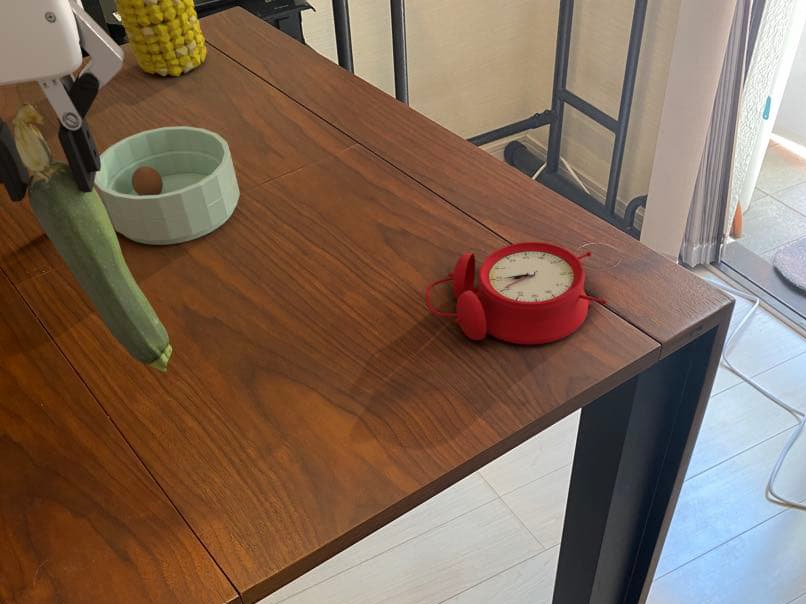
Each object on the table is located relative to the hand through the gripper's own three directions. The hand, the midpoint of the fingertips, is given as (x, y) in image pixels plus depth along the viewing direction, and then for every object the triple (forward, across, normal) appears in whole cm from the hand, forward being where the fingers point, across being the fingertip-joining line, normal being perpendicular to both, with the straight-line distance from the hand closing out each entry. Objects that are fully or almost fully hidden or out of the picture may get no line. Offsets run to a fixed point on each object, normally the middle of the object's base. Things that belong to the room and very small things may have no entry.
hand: (54, 183), depth 55 cm
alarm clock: (+21, -32, -7) cm, 39 cm away
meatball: (+18, +2, -34) cm, 38 cm away
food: (+21, +1, -68) cm, 71 cm away
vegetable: (+15, -3, +1) cm, 15 cm away
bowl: (+21, -1, -32) cm, 38 cm away
